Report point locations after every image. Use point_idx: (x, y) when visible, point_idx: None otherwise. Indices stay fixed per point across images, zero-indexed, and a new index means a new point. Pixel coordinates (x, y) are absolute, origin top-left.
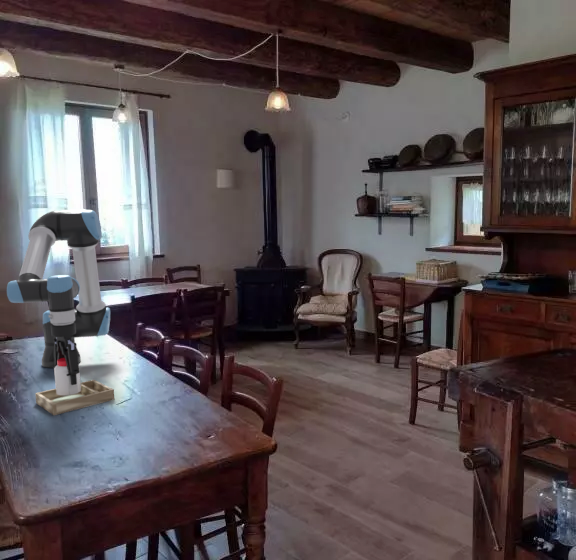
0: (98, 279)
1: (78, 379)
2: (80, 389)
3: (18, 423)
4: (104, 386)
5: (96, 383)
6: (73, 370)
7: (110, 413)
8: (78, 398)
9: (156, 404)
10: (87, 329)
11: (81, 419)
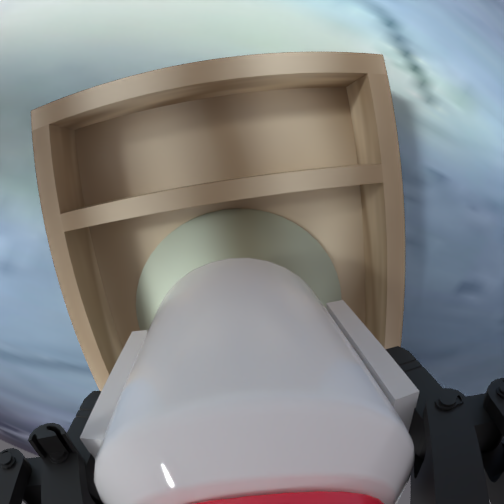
0: None
1: (337, 328)
2: (292, 274)
3: None
4: (265, 71)
5: (118, 102)
6: (498, 442)
7: (501, 181)
8: (403, 305)
9: (490, 12)
10: None
11: (481, 297)
